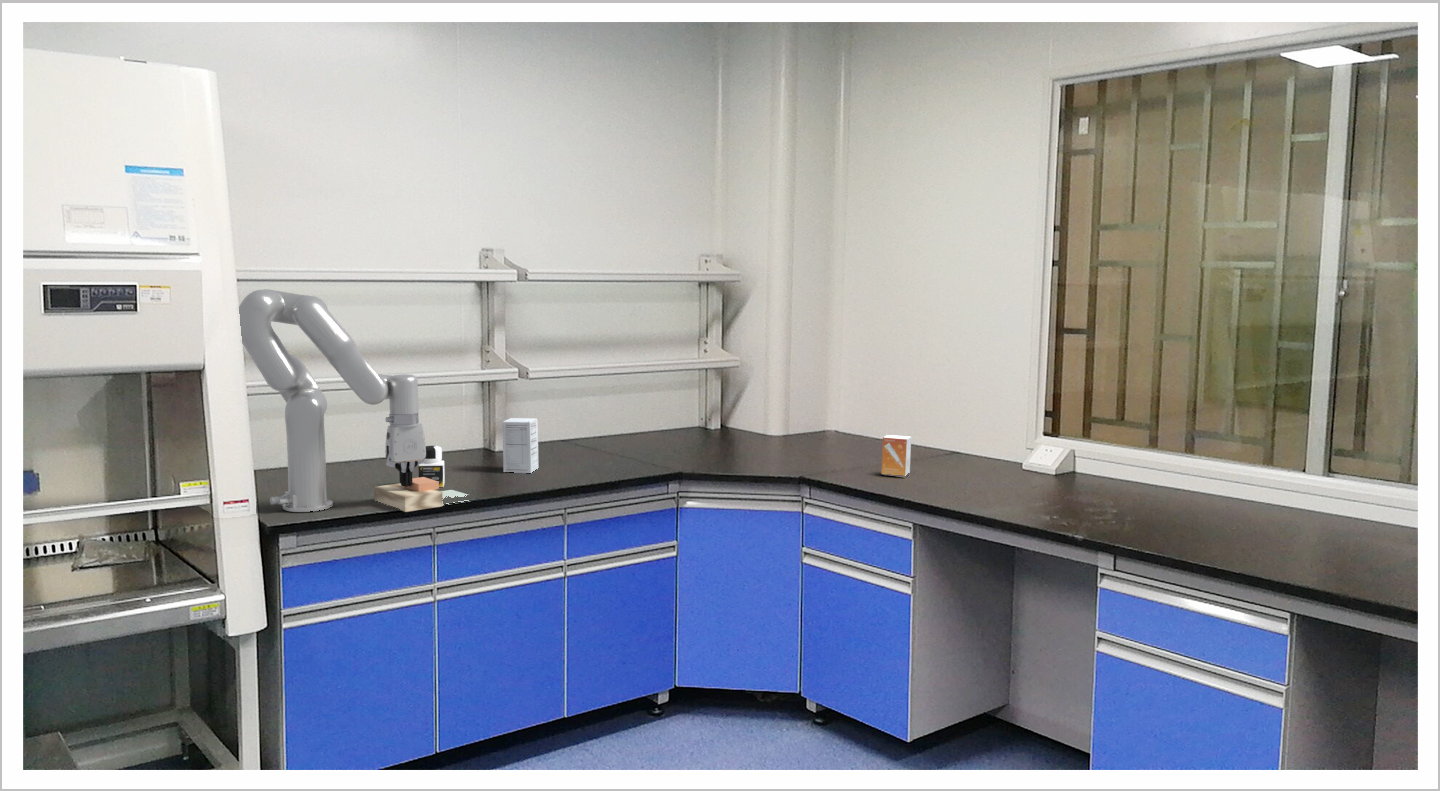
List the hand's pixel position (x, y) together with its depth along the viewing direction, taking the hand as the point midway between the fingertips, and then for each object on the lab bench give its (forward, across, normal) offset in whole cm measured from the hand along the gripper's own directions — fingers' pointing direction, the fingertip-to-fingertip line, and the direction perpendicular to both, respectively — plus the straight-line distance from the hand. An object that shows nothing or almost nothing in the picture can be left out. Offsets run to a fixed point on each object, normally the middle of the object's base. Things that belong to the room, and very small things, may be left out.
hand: (406, 485), depth 294 cm
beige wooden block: (+5, 0, 0) cm, 5 cm away
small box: (+7, +141, -60) cm, 153 cm away
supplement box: (+6, +51, +22) cm, 56 cm away
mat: (+5, +13, 0) cm, 14 cm away
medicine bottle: (+5, +17, +18) cm, 26 cm away
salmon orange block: (+1, +4, 0) cm, 5 cm away
